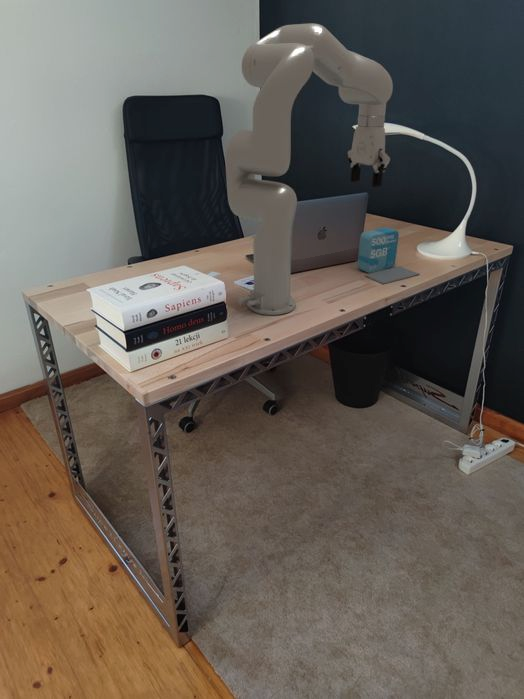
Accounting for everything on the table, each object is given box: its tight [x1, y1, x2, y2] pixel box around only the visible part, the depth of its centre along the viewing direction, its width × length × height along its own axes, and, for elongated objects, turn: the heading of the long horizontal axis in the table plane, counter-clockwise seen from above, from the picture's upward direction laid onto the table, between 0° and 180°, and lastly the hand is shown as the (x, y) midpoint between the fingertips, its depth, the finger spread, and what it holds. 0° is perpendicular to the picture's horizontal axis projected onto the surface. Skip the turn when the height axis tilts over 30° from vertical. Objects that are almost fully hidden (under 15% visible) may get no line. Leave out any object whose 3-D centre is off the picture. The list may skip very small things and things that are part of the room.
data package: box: [357, 227, 400, 274], centre depth 157 cm, size 12×4×12 cm, turn 122°
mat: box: [364, 266, 420, 286], centre depth 154 cm, size 15×8×1 cm, turn 122°
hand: (365, 183), depth 154 cm, fingers open, 9 cm apart
